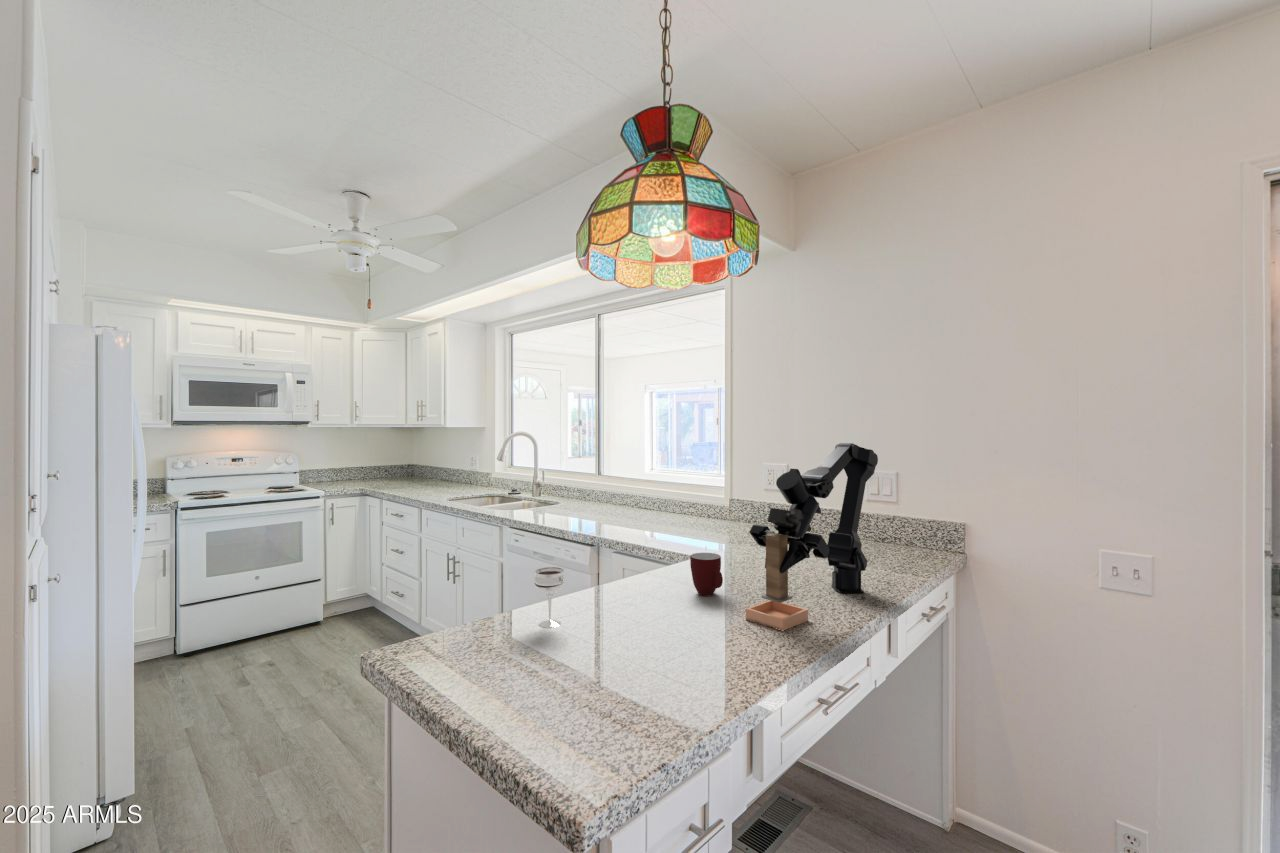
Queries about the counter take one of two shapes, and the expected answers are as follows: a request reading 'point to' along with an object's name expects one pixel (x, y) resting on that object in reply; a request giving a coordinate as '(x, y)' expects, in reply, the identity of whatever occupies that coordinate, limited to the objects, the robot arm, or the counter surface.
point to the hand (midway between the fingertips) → (773, 570)
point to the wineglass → (549, 588)
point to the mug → (706, 572)
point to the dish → (777, 614)
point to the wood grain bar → (776, 568)
